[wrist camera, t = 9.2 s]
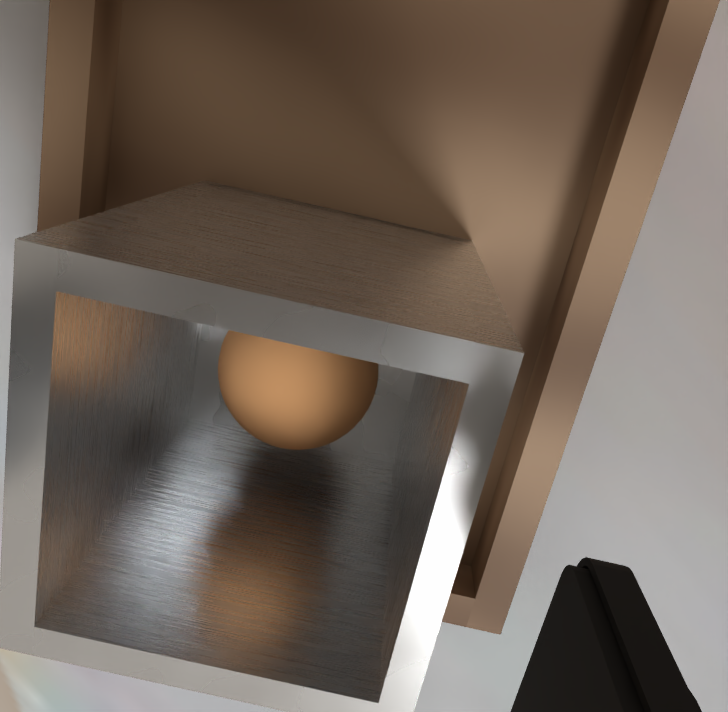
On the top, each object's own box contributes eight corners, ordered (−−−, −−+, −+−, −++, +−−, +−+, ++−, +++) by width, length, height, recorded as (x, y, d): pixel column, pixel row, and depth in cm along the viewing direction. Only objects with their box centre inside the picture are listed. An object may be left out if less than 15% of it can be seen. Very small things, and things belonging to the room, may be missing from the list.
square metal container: (205, 180, 18) (15, 238, 9) (472, 240, 18) (524, 353, 9) (172, 423, 20) (-3, 647, 12) (409, 476, 20) (405, 738, 12)
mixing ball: (251, 259, 18) (209, 296, 14) (396, 292, 18) (391, 337, 14) (230, 393, 19) (186, 458, 16) (365, 423, 19) (353, 495, 16)
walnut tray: (113, -180, 16) (62, -230, 14) (697, -46, 16) (745, -74, 14) (63, 484, 22) (20, 527, 20) (491, 579, 22) (500, 634, 20)
